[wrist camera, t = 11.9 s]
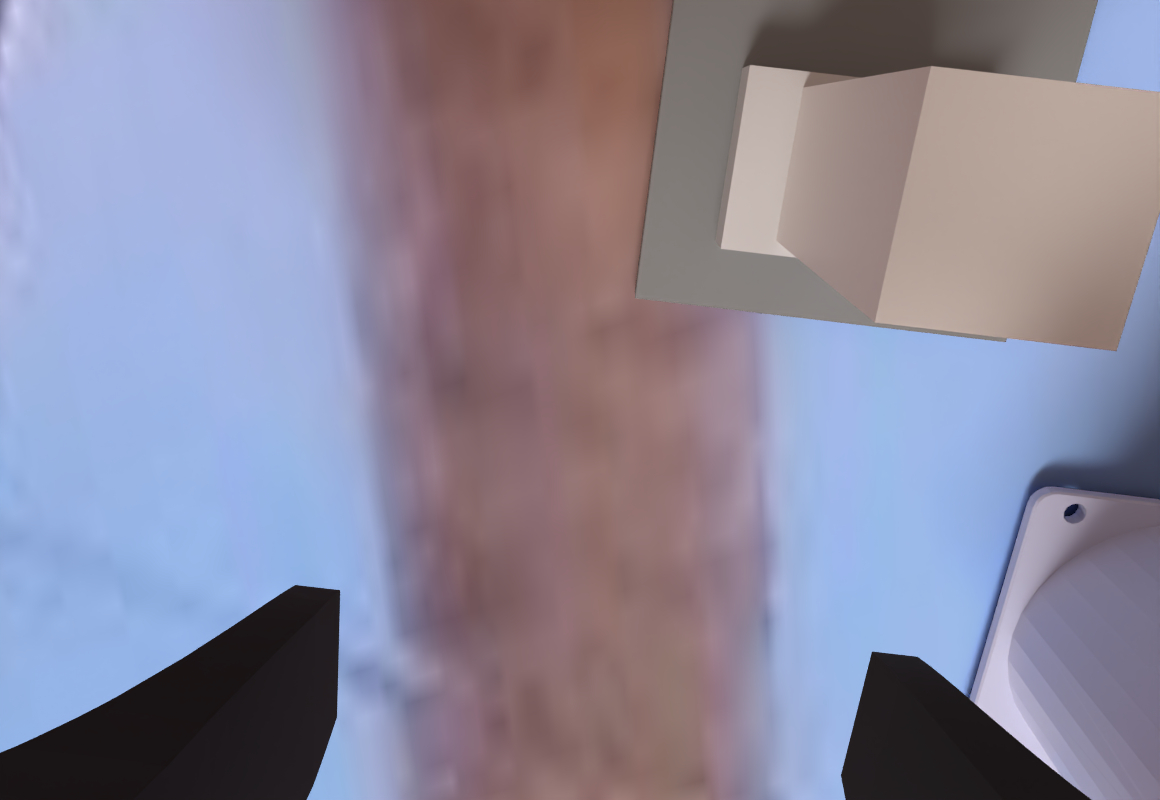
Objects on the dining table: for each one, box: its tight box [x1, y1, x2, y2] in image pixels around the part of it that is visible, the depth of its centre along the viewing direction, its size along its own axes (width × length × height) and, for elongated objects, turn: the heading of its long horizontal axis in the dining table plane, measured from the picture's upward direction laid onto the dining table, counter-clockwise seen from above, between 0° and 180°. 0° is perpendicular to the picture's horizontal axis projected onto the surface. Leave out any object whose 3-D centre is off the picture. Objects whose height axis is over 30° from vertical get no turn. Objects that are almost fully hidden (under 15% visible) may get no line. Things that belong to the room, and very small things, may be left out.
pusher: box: [715, 65, 1160, 351], centre depth 15 cm, size 5×4×9 cm
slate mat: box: [635, 0, 1098, 342], centre depth 19 cm, size 8×9×1 cm
